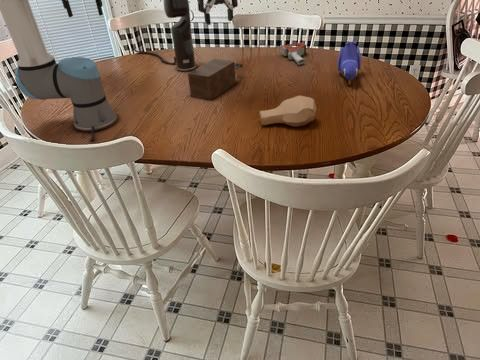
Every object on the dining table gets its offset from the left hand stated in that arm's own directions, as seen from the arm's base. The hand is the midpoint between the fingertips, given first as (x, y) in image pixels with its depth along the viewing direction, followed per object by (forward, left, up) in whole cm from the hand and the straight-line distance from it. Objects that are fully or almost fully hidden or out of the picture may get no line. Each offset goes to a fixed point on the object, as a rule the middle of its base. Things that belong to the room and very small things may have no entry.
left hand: (86, 15), depth 157 cm
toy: (-17, -114, -28) cm, 119 cm away
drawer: (-17, -58, -27) cm, 67 cm away
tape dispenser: (+15, -94, -28) cm, 99 cm away
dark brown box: (-22, -56, -28) cm, 66 cm away
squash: (-56, -84, -28) cm, 105 cm away
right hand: (-32, -61, +1) cm, 69 cm away
